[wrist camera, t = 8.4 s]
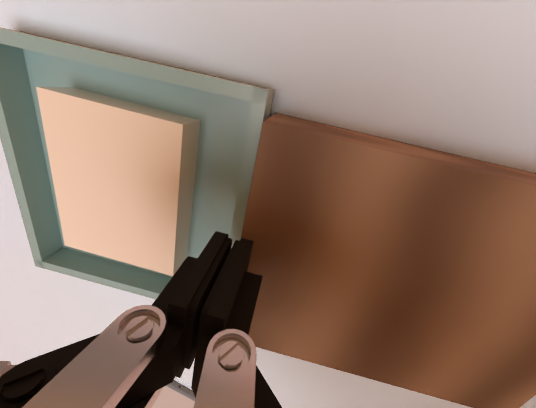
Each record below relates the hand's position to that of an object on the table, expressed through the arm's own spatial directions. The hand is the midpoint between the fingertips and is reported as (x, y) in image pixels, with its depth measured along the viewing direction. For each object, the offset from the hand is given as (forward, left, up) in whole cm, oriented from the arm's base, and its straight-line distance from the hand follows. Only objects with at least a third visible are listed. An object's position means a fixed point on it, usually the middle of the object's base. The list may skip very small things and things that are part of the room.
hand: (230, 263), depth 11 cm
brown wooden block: (-8, 0, -5) cm, 10 cm away
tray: (+7, 0, -5) cm, 8 cm away
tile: (+7, 0, -2) cm, 8 cm away
